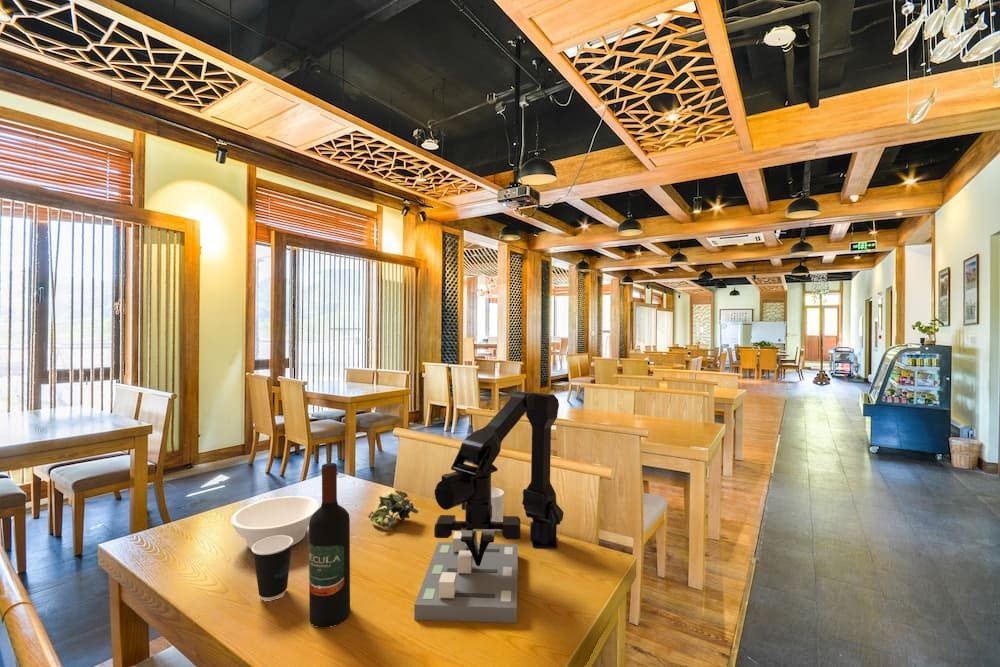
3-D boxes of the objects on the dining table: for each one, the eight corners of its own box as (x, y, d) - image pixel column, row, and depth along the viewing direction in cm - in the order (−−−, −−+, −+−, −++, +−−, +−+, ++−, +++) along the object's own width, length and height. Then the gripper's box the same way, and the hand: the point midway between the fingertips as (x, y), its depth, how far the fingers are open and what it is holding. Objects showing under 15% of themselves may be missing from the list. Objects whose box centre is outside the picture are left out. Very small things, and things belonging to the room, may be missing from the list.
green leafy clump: (401, 537, 132) (425, 504, 132) (385, 548, 121) (412, 512, 122) (374, 512, 135) (398, 479, 135) (356, 520, 124) (382, 485, 125)
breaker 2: (466, 544, 110) (467, 531, 110) (465, 551, 106) (465, 538, 106) (454, 544, 110) (454, 531, 110) (452, 551, 107) (452, 538, 106)
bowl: (211, 552, 113) (211, 520, 113) (280, 518, 132) (280, 491, 132) (272, 569, 105) (272, 535, 105) (336, 531, 124) (336, 502, 124)
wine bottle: (358, 609, 90) (357, 462, 90) (329, 632, 83) (328, 473, 83) (330, 599, 93) (329, 457, 93) (300, 621, 87) (299, 468, 86)
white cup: (507, 523, 129) (507, 489, 129) (498, 535, 122) (498, 499, 122) (482, 519, 132) (482, 485, 132) (471, 531, 125) (471, 495, 124)
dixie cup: (288, 603, 92) (288, 550, 92) (246, 609, 90) (246, 555, 90) (297, 581, 100) (296, 533, 100) (258, 586, 98) (258, 537, 98)
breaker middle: (472, 564, 101) (472, 550, 101) (470, 573, 97) (470, 558, 97) (459, 564, 101) (459, 550, 101) (457, 572, 97) (457, 558, 97)
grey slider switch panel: (517, 556, 111) (517, 543, 111) (516, 623, 86) (516, 607, 86) (438, 553, 112) (438, 541, 112) (414, 619, 87) (414, 604, 87)
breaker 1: (456, 587, 92) (456, 572, 92) (453, 598, 88) (453, 582, 88) (442, 587, 92) (441, 572, 92) (438, 597, 89) (438, 581, 89)
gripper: (520, 482, 106) (520, 547, 107) (442, 481, 107) (442, 546, 107) (520, 501, 95) (520, 573, 95) (433, 499, 96) (433, 571, 96)
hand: (478, 564), depth 99 cm, fingers closed
